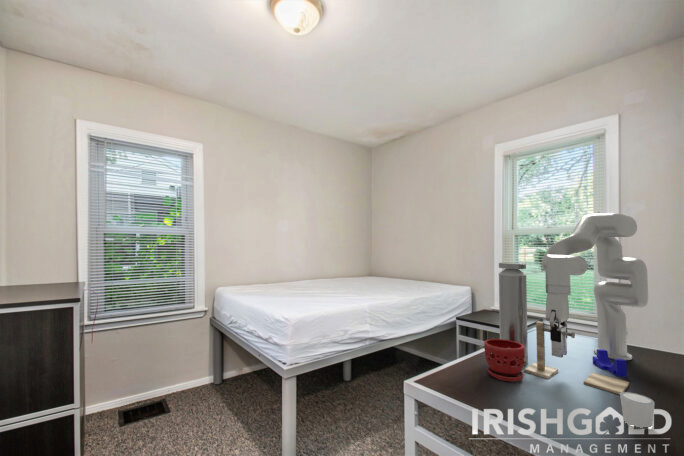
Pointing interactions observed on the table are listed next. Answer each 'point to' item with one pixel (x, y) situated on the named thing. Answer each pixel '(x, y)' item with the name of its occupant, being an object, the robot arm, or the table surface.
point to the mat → (606, 383)
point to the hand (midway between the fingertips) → (559, 339)
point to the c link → (560, 344)
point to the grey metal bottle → (513, 304)
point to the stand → (543, 354)
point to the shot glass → (637, 409)
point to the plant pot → (505, 359)
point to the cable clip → (605, 363)
